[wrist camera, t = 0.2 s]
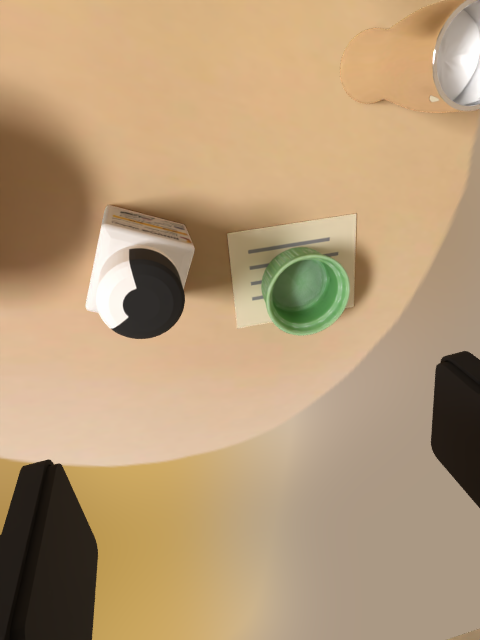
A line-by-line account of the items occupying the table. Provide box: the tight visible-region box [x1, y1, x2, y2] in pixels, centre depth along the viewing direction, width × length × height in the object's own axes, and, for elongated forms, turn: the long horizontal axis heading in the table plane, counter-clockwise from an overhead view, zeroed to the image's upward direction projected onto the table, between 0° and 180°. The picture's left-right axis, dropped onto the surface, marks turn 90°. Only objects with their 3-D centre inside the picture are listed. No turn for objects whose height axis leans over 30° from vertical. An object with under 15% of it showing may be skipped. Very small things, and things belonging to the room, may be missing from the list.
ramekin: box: [261, 247, 350, 335], centre depth 48 cm, size 9×9×4 cm
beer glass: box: [340, 0, 480, 113], centre depth 35 cm, size 7×7×15 cm
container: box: [85, 205, 195, 339], centre depth 39 cm, size 8×8×13 cm
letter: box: [227, 214, 356, 329], centre depth 49 cm, size 11×14×1 cm
